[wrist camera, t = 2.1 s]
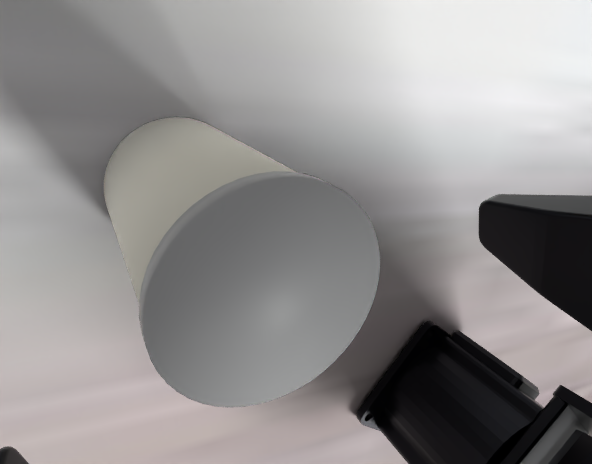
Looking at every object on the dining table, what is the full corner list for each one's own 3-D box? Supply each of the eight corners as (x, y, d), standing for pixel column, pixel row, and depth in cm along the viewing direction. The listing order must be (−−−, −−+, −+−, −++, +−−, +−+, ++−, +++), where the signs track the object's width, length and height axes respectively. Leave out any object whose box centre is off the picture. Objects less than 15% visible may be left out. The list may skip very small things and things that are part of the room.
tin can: (195, 275, 15) (287, 428, 9) (66, 210, 13) (80, 368, 7) (272, 169, 15) (416, 253, 9) (160, 79, 12) (261, 117, 6)
